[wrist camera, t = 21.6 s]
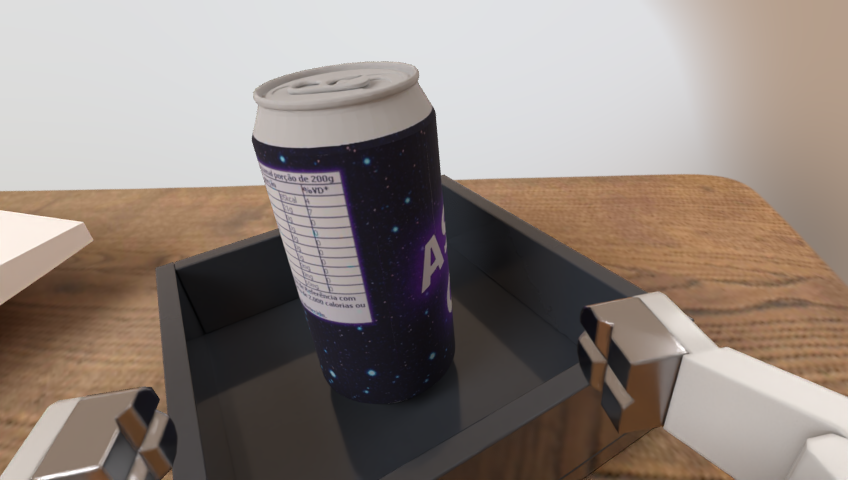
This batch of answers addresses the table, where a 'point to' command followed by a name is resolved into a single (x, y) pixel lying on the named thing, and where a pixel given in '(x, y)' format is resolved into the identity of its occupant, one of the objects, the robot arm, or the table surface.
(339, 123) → the beverage can
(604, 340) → the robot arm
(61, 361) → the table surface
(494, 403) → the open box
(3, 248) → the board
